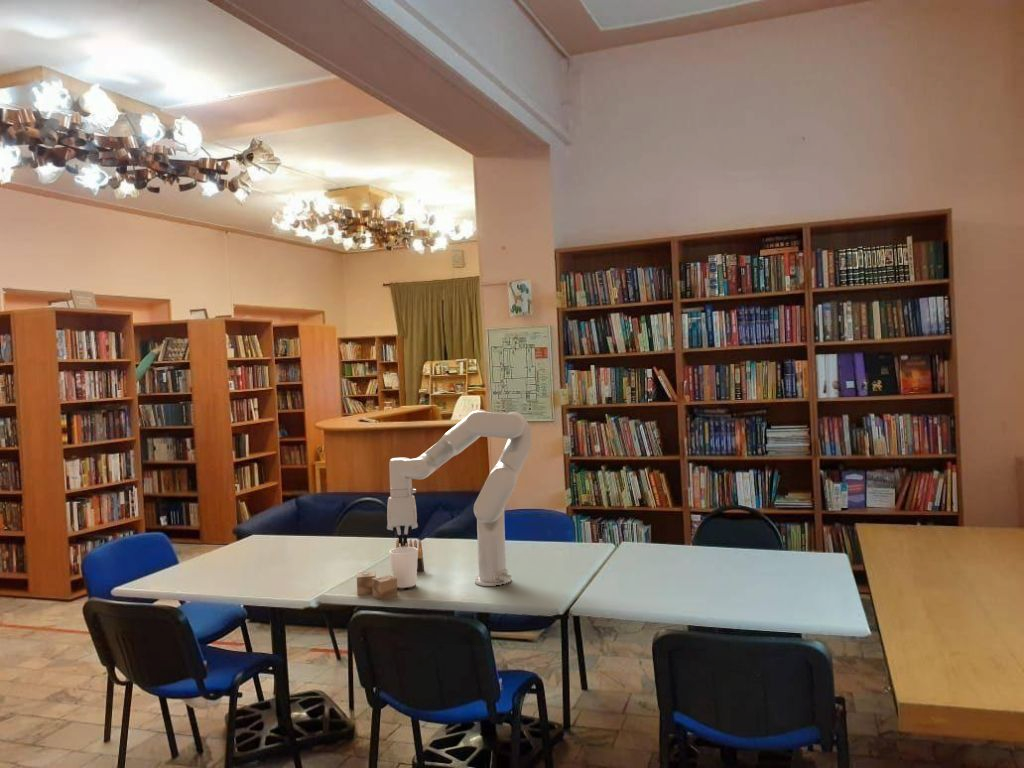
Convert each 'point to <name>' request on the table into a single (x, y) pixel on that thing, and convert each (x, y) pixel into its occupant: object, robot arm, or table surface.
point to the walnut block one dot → (365, 582)
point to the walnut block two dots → (384, 587)
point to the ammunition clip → (420, 554)
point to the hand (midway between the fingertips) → (403, 545)
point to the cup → (404, 566)
